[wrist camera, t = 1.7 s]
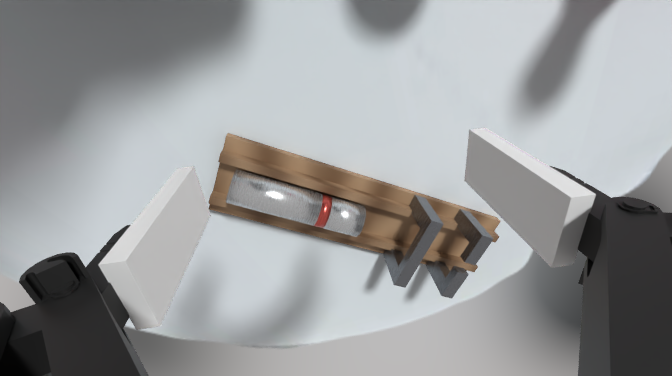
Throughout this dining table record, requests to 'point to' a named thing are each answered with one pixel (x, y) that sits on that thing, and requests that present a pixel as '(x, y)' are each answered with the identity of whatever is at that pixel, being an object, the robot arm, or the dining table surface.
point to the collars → (429, 228)
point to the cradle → (376, 196)
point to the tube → (295, 203)
